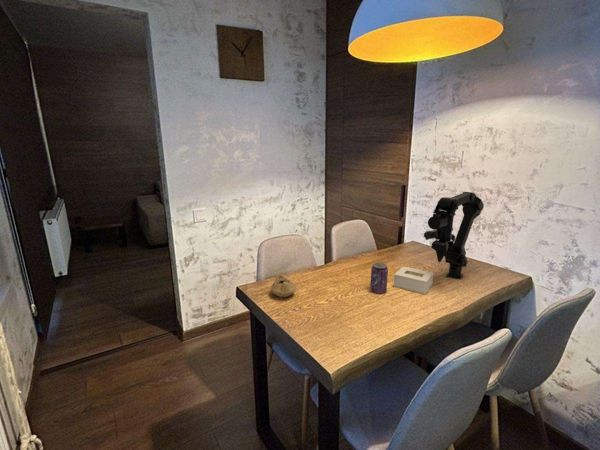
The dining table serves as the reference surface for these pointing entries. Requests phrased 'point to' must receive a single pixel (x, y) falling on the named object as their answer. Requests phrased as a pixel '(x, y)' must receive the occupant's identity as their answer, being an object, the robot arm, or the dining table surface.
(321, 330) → the dining table surface
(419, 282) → the moneybox
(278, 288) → the oil lamp
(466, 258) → the robot arm
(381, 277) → the beverage can
